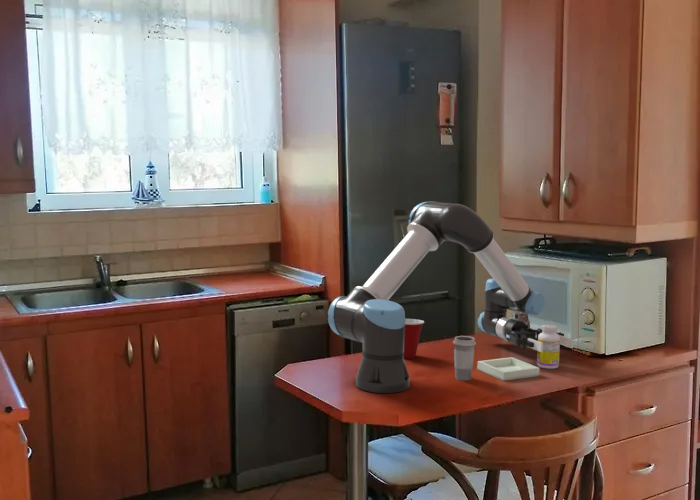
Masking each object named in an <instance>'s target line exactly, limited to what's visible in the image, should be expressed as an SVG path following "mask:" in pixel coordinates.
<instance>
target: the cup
mask: <svg viewBox="0 0 700 500" xmlns="http://www.w3.org/2000/svg"><path fill="white" fill-rule="evenodd" d="M452 344H453V345H454V348H453V354H454V355H453V358H454V378H455V380H457V381H462V382H465V381H466V382H467V381H471V380H472V374H473V368H474V359H475V346H476V344H477V341H476V338H475V337H473V336H470V335H469V336H468V335H459V336H458V335H456V336H454V339H453V341H452Z"/></svg>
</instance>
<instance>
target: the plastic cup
mask: <svg viewBox="0 0 700 500" xmlns="http://www.w3.org/2000/svg"><path fill="white" fill-rule="evenodd" d="M405 320H406V322H405V323H406V324H405V343H404V359H414V358H416V356H417V351H418V347H419V342H420V336H421V332H422V328H423V325H424V324H425V321H424V320H421V319H415V318H405Z"/></svg>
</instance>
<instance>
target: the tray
mask: <svg viewBox="0 0 700 500" xmlns="http://www.w3.org/2000/svg"><path fill="white" fill-rule="evenodd" d="M540 368H541V367H539V366H535V365H533V364H530V363H529V362H525V361H523V360H520V359H518V358H516V357H513V356H512V357H511V356H510V357H501V358H493V359H486V360H478V361H477V367H476V369H477V370H478V371H480V372H482V373H485V374H487V375H489V376H491V377H494V378H496V379H498V380H501V381H503V382H507V381H512V380H520V379H527V378H535V377H540Z"/></svg>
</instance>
